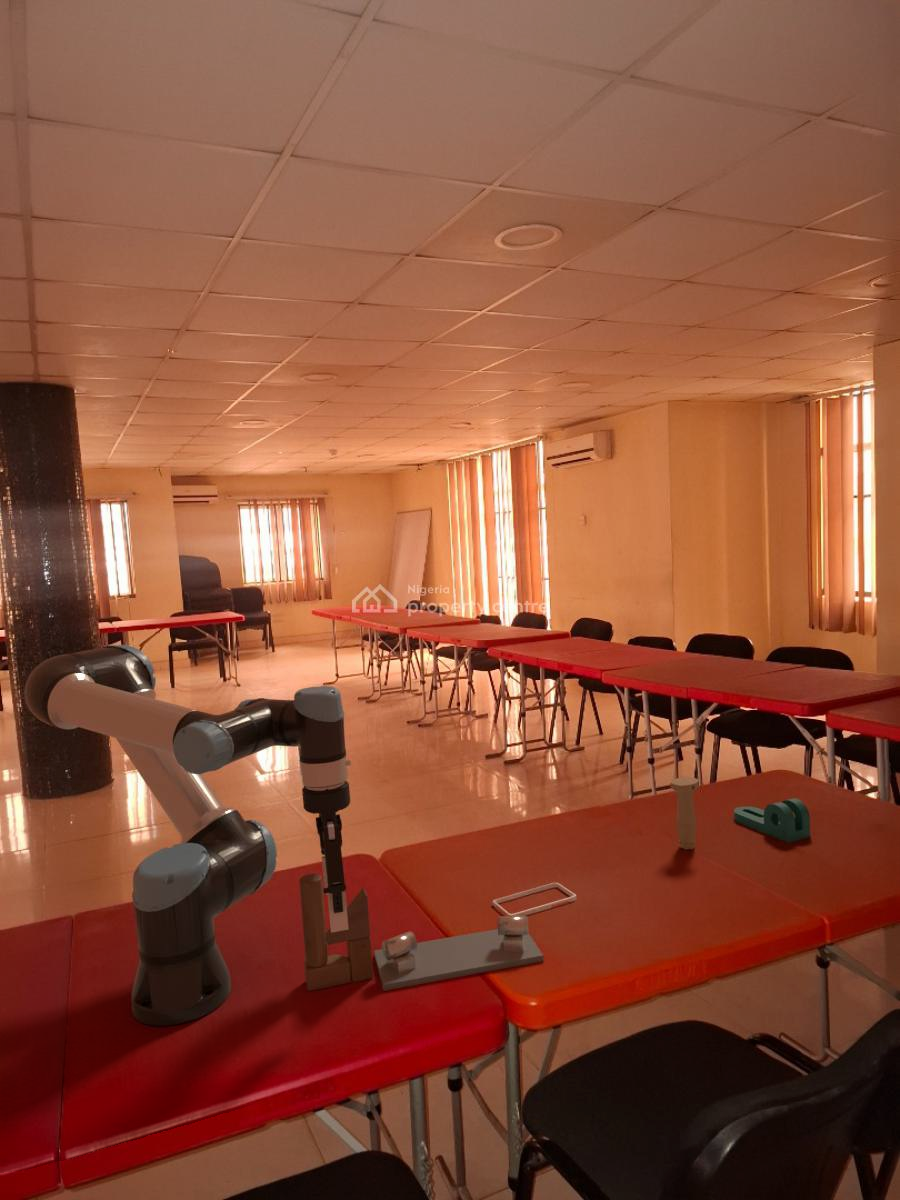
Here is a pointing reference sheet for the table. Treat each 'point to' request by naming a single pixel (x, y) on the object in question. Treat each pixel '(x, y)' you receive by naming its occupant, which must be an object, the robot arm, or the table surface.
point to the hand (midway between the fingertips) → (336, 910)
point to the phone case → (531, 891)
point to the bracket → (777, 819)
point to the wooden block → (334, 939)
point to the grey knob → (513, 932)
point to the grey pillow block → (400, 952)
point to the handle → (685, 810)
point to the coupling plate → (457, 959)
